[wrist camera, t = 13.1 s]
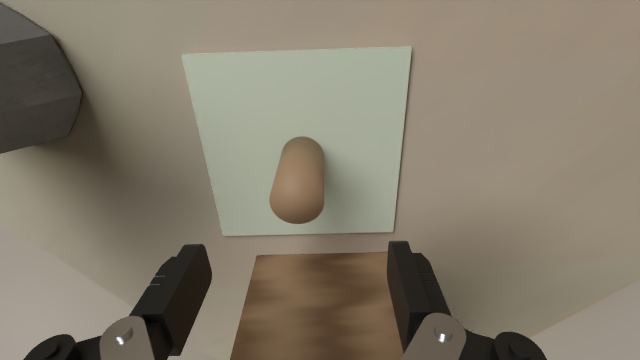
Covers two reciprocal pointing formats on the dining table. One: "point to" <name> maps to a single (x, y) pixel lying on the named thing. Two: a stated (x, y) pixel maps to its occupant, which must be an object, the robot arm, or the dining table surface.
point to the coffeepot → (33, 85)
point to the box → (318, 309)
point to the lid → (302, 137)
